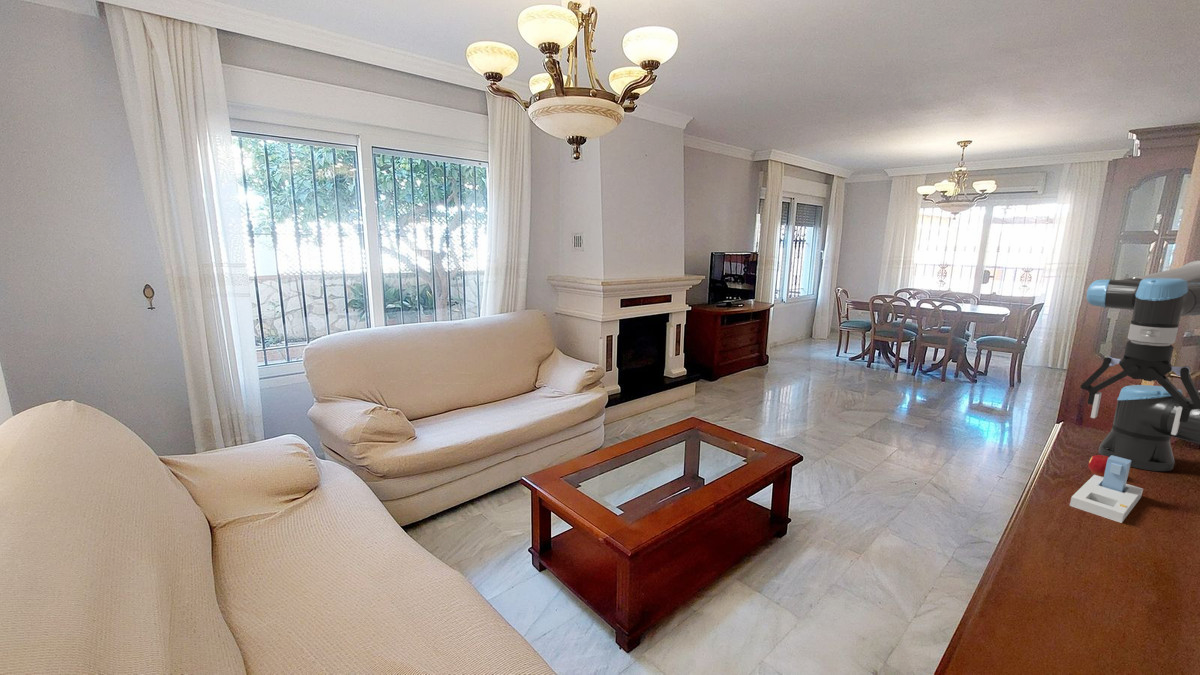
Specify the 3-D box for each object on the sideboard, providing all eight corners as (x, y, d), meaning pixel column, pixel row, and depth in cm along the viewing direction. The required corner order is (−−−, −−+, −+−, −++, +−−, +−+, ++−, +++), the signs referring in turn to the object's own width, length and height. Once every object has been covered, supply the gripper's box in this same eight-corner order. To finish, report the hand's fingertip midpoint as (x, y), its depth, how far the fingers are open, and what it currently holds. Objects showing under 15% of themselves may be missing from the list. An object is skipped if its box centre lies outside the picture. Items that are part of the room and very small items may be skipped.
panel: (1091, 484, 129) (1094, 473, 129) (1140, 499, 122) (1143, 487, 121) (1069, 507, 119) (1071, 496, 118) (1121, 525, 111) (1123, 513, 111)
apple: (1095, 483, 130) (1100, 461, 129) (1072, 469, 138) (1076, 448, 137) (1129, 484, 129) (1134, 462, 128) (1103, 470, 137) (1108, 450, 135)
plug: (1103, 489, 125) (1111, 455, 123) (1123, 495, 122) (1131, 460, 120) (1099, 494, 123) (1106, 459, 121) (1119, 500, 120) (1127, 464, 118)
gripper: (1074, 336, 122) (1060, 413, 126) (1234, 354, 101) (1210, 445, 106) (1082, 332, 126) (1068, 407, 130) (1237, 349, 105) (1214, 437, 110)
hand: (1132, 424), depth 118 cm, fingers open, 13 cm apart
